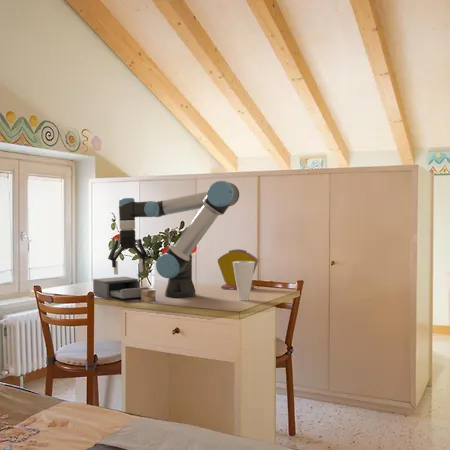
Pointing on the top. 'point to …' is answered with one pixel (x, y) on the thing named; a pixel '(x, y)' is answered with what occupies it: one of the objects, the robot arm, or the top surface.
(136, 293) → the tray
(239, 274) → the cup
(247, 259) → the yellow arched part
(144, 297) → the pedestal
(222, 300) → the top surface
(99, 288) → the housing
